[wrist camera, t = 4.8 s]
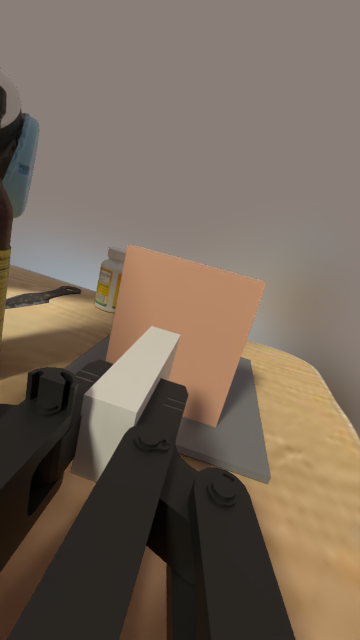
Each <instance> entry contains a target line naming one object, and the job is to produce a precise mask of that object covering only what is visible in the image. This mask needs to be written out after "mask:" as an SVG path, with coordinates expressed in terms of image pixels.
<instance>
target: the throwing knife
mask: <svg viewBox="0 0 360 640" xmlns="http://www.w3.org/2000/svg"><path fill="white" fill-rule="evenodd" d="M66 289H71V290H75V291H69V290H66ZM80 293H81V290H80V289H78V288H75V287H70V286H62V287H60V288H58V289H56V290H52V291H47V292H42V293H27V294H22V295H18V296H15V297H11V298H8V299H6V303H5V309H8V308H16V307H23V306H30V305H37V304H43V303H48V302H49V299H51V298H54V297H58V296H62V295H69V294H80Z"/></svg>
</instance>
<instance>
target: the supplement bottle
mask: <svg viewBox="0 0 360 640" xmlns="http://www.w3.org/2000/svg"><path fill="white" fill-rule="evenodd" d="M126 251H127V250H125V249H121V248H115V247H109V251H108V257H109V259H108V260H104V261H103V262H102V264H101V269H100V275H99V280H98V286H97V292H96V297H95V306H96V307H97V308H99V309H101V310H103V311H107V312H112V313H115V309H116V304H117V298H118V293H119V288H120V282H121V277H122V272H123V267H124V261H125V256H126Z"/></svg>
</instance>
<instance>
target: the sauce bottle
mask: <svg viewBox="0 0 360 640" xmlns="http://www.w3.org/2000/svg"><path fill="white" fill-rule="evenodd" d="M6 99H7V94H6V91H5V90H4V88H3V87H2V86H1V85H0V128H1V120H2V118H3V117H4V115H5V114H6V105H7V103H6ZM12 222H13V208H12V205H11V202H10V200H9V197H8V195H7V192H6V191H5V189H4V187H3V184H2V181H1V177H0V348H1V339H2V330H3V321H4V312H5V303H6V294H7V284H8V274H9V264H10V254H11V247H10V239H11V230H12V229H11V228H12Z"/></svg>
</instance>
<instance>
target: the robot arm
mask: <svg viewBox="0 0 360 640" xmlns="http://www.w3.org/2000/svg"><path fill="white" fill-rule="evenodd" d="M0 85H1V86H2V87H3V88H4V90H5V91H6V94H7V99H6V103H7V105H6V114H5V115H4V117H3V118H2V120H1V128H0V177H1V181H2V184H3V187H4V189H5V191H6V192H7V195H8V197H9V200H10V202H11V205H12V208H13V218H17V217H19V216H21V215H22V213H23V212H24V210H25V207H26V203H27V199H28V194H29V190H30V185H31V179H32V173H33V168H34V163H35V156H36V151H37V144H38V136H39V123H38V122H37V120H36V119H34V118H32V117H31V116H30V115H29V114H26V113H23V114H22V113H21V101H20V95H19V92H18V89H17V87H16V86H15V84H14V82H13V81H12V80H11V78H10V77H9V76H8V75H7V74H6V73H5V72H4V71H3V70H2V69H1V68H0ZM180 336H181V335H180V334H176V333H173V332H170V331H166V330H163V329H160V328H157V327H153V326H151V327H150V328H149V329H148V330H147V331H146V332H145V333H144V334H143V335H142V336H141V337H140V338H139V339H138V340H137V341H136V342H135V343H134V344H133V345H132V346H131V347H130V348H129V349H128V350H127V351H126V352H125V353H124V355H123V356H122V357H121V358H120V359H119V360H118V361H117V362H116V363H115V364H113V363H110V362H106V361H103V360H97V361H94V362H91V363H88V364H87V365H86V366H85V367H83V368H82V369H81V371H79V372H77V373H76V374H75V375H74V374H73V373H72V372H70V371H68V370H66V369H61V368H51V367H46V368H40V369H36V370H33V371H31V372H29V373H28V381H27V391H26V399H25V400H24V401H23V402H21V403H20V404H19V405H9V404H0V572H1V570H2V569H3V568H4V566H5V565H6V563H7V562H8V560H9V559H10V558H11V556H12V555H13V553H14V552H15V551H16V549H17V548H18V546H19V545H20V543H21V542H22V541H23V539H24V538H25V536H26V535H27V533H28V532H29V531H30V529H31V528H32V526H33V525H34V524H35V522H36V521H37V519H38V518H39V516H40V515H41V514H42V512H43V511H44V509H45V508H46V506H47V505H48V504H49V502H50V501H51V499H52V498H53V497H54V495H55V494H56V492H57V491H58V489H59V488H60V485H61V483H62V480H63V474H64V470H65V469H66V468H67V466H68V465H69V464H70V462H71V461H72V460H73V462H72V468H71V473H73V474H75V475H78V476H81V477H83V478H86V479H89V480H92V481H94V482H97V483H96V485H95V486H94V488H93V490H92V492H91V493H90V495H89V497H88V499H87V500H86V502H85V504H84V506H83V507H82V509H81V511H80V513H79V514H78V516H77V518H76V520H75V521H74V523H73V525H72V527H71V528H70V530H69V532H68V534H67V535H66V537H65V539H64V541H63V542H62V544H61V546H60V548H59V549H58V551H57V553H56V555H55V556H54V558H53V560H52V562H51V563H50V565H49V567H48V569H47V571H46V572H45V574H44V576H43V578H42V579H41V581H40V583H39V585H38V586H37V588H36V590H35V592H34V593H33V595H32V597H31V599H30V600H29V602H28V604H27V606H26V607H25V609H24V611H23V613H22V614H21V616H20V618H19V620H18V621H17V623H16V625H15V627H14V628H13V630H12V632H11V634H10V635H9V637H8V639H7V640H119V637H120V634H121V630H122V627H123V623H124V620H125V616H126V613H127V609H128V606H129V602H130V599H131V595H132V592H133V588H134V585H135V582H136V578H137V575H138V571H139V568H140V564H141V561H142V557H143V554H144V550H145V547H146V546H148V547H149V548H150V549H151V550H152V551H153V552H154V553H155V554H157V555H158V556H159V557H160V558H161V559H162V560H163V561H164V562H166V563H167V566H166V576H167V640H295V637H294V634H293V630H292V627H291V624H290V621H289V618H288V615H287V611H286V608H285V605H284V602H283V599H282V596H281V593H280V589H279V586H278V583H277V580H276V577H275V574H274V571H273V567H272V564H271V561H270V558H269V555H268V552H267V549H266V545H265V542H264V539H263V536H262V533H261V530H260V527H259V523H258V520H257V517H256V514H255V511H254V508H253V505H252V501H251V498H250V495H249V493H248V491H247V489H246V487H245V486H244V484H243V483H242V482H241V481H240V480H239V479H238V478H237V477H236V476H234V475H233V474H231V473H230V472H228V471H226V470H223V469H220V468H206V469H204V470H202V471H200V472H198V471H196V470H195V469H193V468H192V467H191V466H189V465H188V464H187V463H186V462H185V461H184V460H183V459H182V458H181V457H180V455H179V453H178V451H177V449H176V437H177V434H178V430H179V427H180V423H181V420H182V416H183V413H184V409H185V406H186V402H187V399H188V392H187V389H186V386H183V385H180V384H177V383H174V382H171V381H168V380H169V376H170V372H171V369H172V365H173V361H174V358H175V354H176V350H177V347H178V343H179V339H180Z"/></svg>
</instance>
